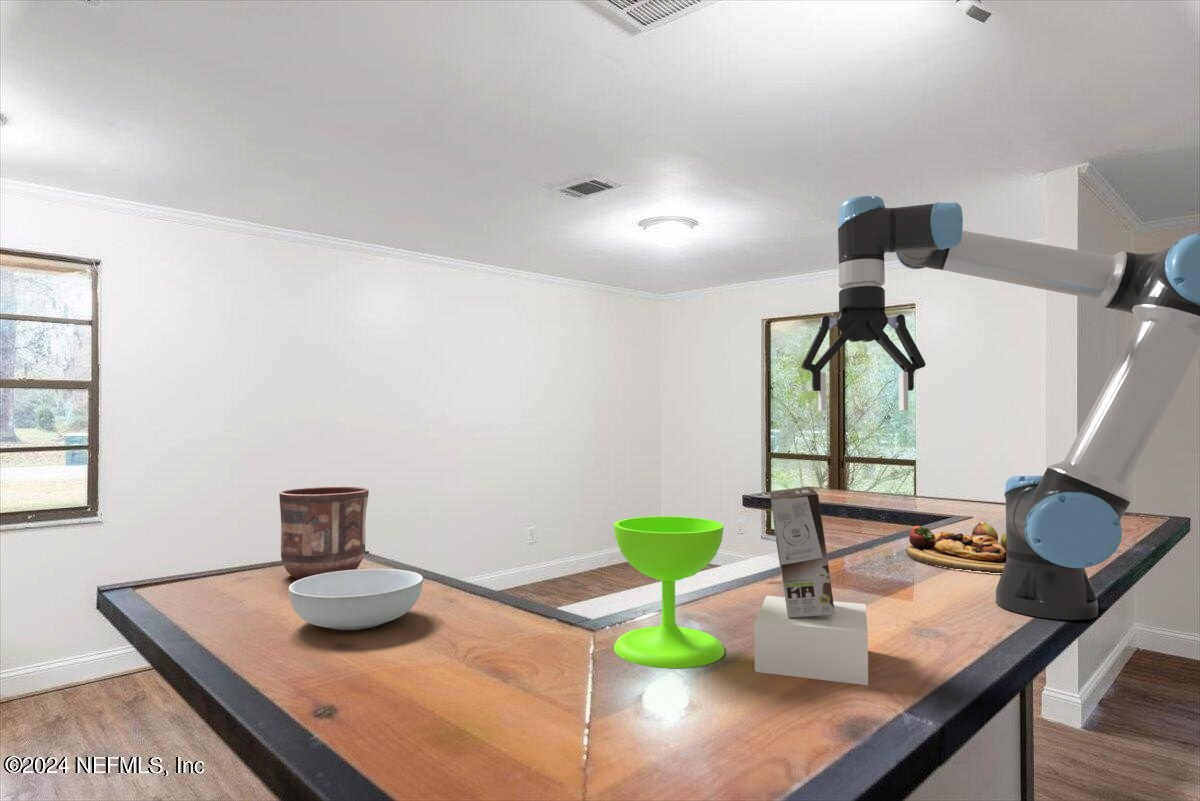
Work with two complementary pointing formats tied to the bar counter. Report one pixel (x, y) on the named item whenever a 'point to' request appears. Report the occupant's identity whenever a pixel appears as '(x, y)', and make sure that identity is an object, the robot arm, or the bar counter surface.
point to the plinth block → (813, 643)
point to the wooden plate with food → (959, 549)
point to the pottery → (322, 529)
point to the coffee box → (802, 553)
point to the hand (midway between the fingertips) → (862, 410)
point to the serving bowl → (355, 597)
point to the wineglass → (668, 586)
